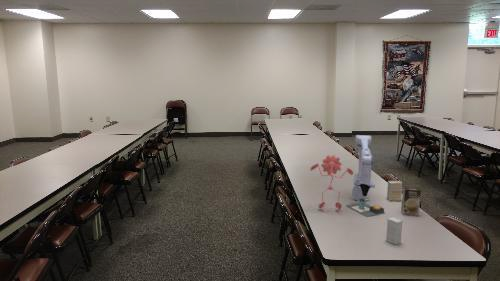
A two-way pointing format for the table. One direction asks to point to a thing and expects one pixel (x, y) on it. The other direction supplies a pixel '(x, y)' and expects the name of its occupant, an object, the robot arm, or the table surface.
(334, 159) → the figurine
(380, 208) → the button
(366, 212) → the slate board
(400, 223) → the skincare box
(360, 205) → the teal bottle
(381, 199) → the table surface
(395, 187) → the supplement box
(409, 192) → the coffee box
